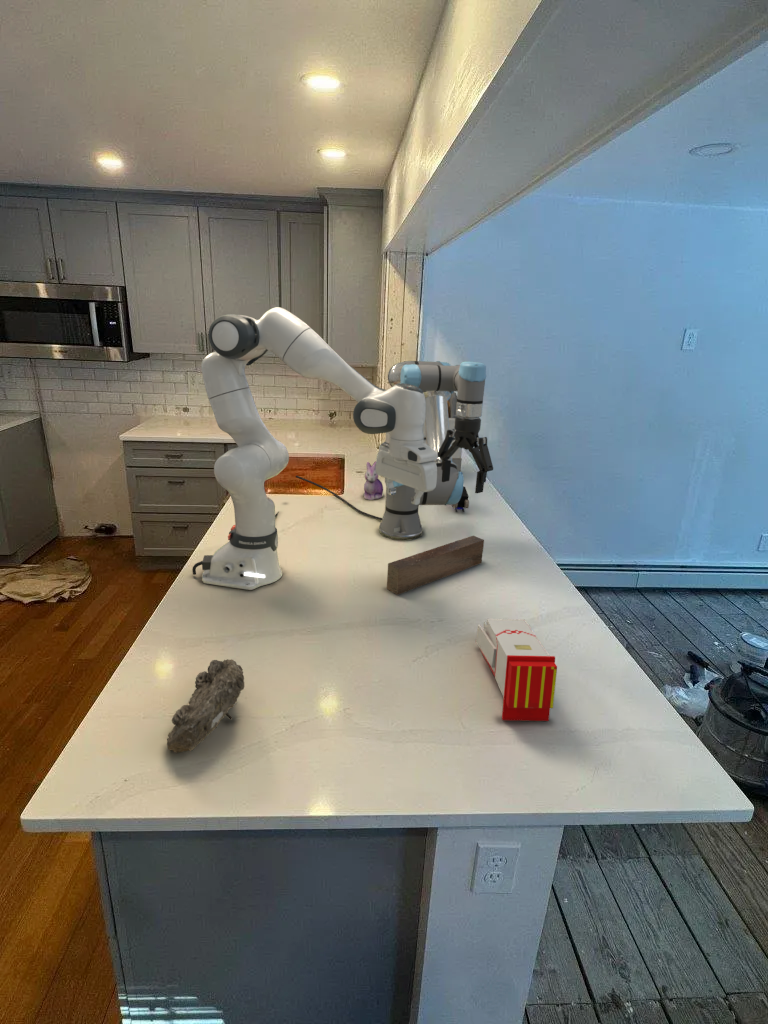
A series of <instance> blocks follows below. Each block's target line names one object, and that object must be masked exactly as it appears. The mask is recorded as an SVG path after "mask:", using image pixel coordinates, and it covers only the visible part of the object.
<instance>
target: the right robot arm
mask: <svg viewBox="0 0 768 1024" xmlns="http://www.w3.org/2000/svg"><path fill="white" fill-rule="evenodd" d="M486 379H487V365H486V364H485V363H484V362H478V361H462V362H461V363H460V364H454V365H451V363H449V362H447V361H440V360H437V361H428V360H427V361H426V360H423V361H422V360H405V361H401V362H397V363H395V364H393V365H392V366H391V367H390V368H389V370H388V372H387V383H388V384H389V385H390V388H391V387H393V386H394V385H396V384H398V383H404V384H410V385H414V386H417V387H418V388H420V389H421V390H422V391H423V392H424V395H425V405H426V410H425V430H426V444H427V445H428V446H429V447H431V448H432V449H433V450H434V451H436V452H437V454H438V457H437V460H434V462H435V463H436V465H437V483H436V487H435V489H434V490H433V491H429V492H424V493H423V495H422V496H421V498H420V503H419V504H418V505H414V504H412V503H411V501H412V500H411V497H414V496H415V494H416V493H415V489H414V488H412V487H409V486H406V485H404V484H401V483H398V482H395V481H393V485H394V488H396V494H395V495H389V494H388V493H387V491H388V488H387V486H386V485H385V504H384V505H385V507H384V508H385V509H384V513H383V515H382V517H380V516H376V515H373V514H370V513H368V512H365V511H363V510H360V509H359V508H357V507H356V506H354V505H353V504H351V503H350V502H349V501H347V500H345V499H344V498H343V497H342V496H339V494H337V493H335V492H334V491H332V490H330V489H328V488H327V487H324V486H323V485H320V484H319V483H316V482H314V481H311V480H309V479H306V478H305V477H301V476H299V475H295V478H297V479H299V480H302V481H304V482H307V483H309V484H311V485H314V486H316V487H318V488H320V489H322V490H324V491H326V492H328V493H330V494H331V495H333V496H334V497H336V498H338V499H339V500H340V501H342V502H343V503H344V504H346V505H347V506H349V507H350V508H352V509H353V510H354V511H356V512H358V513H359V514H362V515H364V516H365V517H366V516H367V517H368V518H369V517H370V518H373V519H375V520H379V521H381V522H379V525H378V533H379V534H380V535H381V536H382V537H385V538H387V539H389V540H395V541H410V540H415V539H418V538H420V537H421V536H422V535H423V525H422V524H421V518H420V515H419V507H420V506H449V505H451V506H452V505H453V504H456V503H458V502H459V500H460V498H461V495H462V491H463V486H465V485H464V483H465V479H464V477H465V476H464V474H463V472H462V471H461V472H460V471H458V472H457V465H456V464H454V463H453V462H452V455H453V454H454V453H455V452H456V451H457V449H458V448H462V449H464V450H468V453H471V456H472V457H473V460H474V462H475V464H476V466H477V468H478V471H477V472H476V480H475V488H474V489H475V491H474V493H475V494H482V493H483V492H484V487H485V483H486V482H487V474H488V472H492V471H494V465H493V461H492V458H491V454H490V450H489V447H488V437H487V436H482V437H481V436H479V432H480V431H481V425H482V419H481V417H482V416H483V406H484V396H485V386H486ZM453 392H456V395H457V405H456V415H457V417H456V418H455V426H454V428H455V429H451V430H449V418H448V405H447V400H449V398H450V397H451V394H452V393H453ZM455 430H456V431H455ZM454 437H455V439H456V440H455V441H454V442H453V443H452V441H453V439H454ZM451 443H452V446H451Z"/></svg>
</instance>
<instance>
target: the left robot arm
mask: <svg viewBox="0 0 768 1024" xmlns="http://www.w3.org/2000/svg"><path fill="white" fill-rule="evenodd" d="M208 341H209V344H210V346H211V348H212V349H213V350H214V351H213V352H210V353H209V354H207V355H206V356H205V357H204V358H203V359H202V361H201V364H200V369H201V374H202V375H201V376H202V380H203V386H204V388H205V392H206V395H207V399H208V402H209V404H210V407H211V411H212V412H213V416H214V418H215V421H216V424H217V427H218V428H219V429H220V430H221V431H222V432H223V433H226V434H228V435H229V436H230V437H231V438H232V440H233V441H234V442H235V444H236V446H237V447H235V448H231V449H229V450H228V451H226V452H225V453H222V455H220V456H219V457H218V458H217V459H216V461H215V462H214V465H213V475H214V477H215V480H216V481H217V483H218V485H219V486H220V487H222V488H223V489H224V490H226V491H227V492H228V494H229V497H230V498H231V501H232V504H233V510H234V524H233V525H232V527H231V528H230V530H229V532H228V535H227V542H226V543H225V544H223V545H222V546H221V547H219V548H218V549H217V550H216V551H215V552H214V553H213V554H212V555H211V554H209V555H208V554H206V555H203V558H202V560H201V561H198V562H196V563H195V564H194V565H193V566H192V567H191V569H192V571H191V572H192V576H197V568H198V567H200V566H201V568H202V569H201V570H202V571H203V572H202V574H201V581H202V582H203V583H204V584H208V585H212V586H213V585H214V586H221V587H227V588H233V589H241V590H247V591H248V590H249V591H252V590H255V589H257V588H260V587H262V586H266V585H270V584H273V583H275V582H277V581H279V580H280V579H281V578H282V576H283V571H282V567H281V565H280V560H279V554H278V547H279V535H278V529H277V527H276V518H275V515H276V504H275V502H274V500H273V499H272V498H270V497H269V496H267V493H266V490H265V489H266V488H265V482H266V481H268V480H270V479H272V478H275V477H277V476H278V475H279V474H280V473H281V472H283V470H284V469H286V467H288V464H289V461H290V455H289V451H288V449H287V446H286V445H285V444H284V443H283V442H281V440H279V439H277V438H276V437H275V436H274V435H273V434H272V433H271V432H270V430H269V429H268V427H267V426H266V424H265V423H264V421H263V419H262V418H261V416H260V413H259V410H258V408H257V405H256V403H255V400H254V397H253V394H252V391H251V388H250V385H249V383H248V380H247V376H246V366H251V365H253V364H254V363H255V362H256V361H257V360H259V359H261V358H262V357H264V355H266V354H267V353H268V351H269V352H271V353H272V354H274V355H275V356H276V357H277V358H279V359H280V360H281V361H282V362H283V364H285V365H286V366H287V367H288V368H290V369H291V370H292V371H294V373H297V374H298V375H300V376H302V377H303V378H307V379H312V380H313V379H314V380H321V381H325V382H328V383H331V384H333V385H335V386H336V387H338V388H340V389H341V390H342V391H343V392H344V393H345V394H347V395H348V396H349V397H350V398H352V399H353V400H354V401H355V402H357V403H356V405H355V406H354V408H353V412H352V419H353V422H354V424H355V426H356V428H357V429H358V430H359V431H360V432H362V433H364V434H368V435H378V434H379V435H380V434H386V433H387V432H388V433H389V434H390V438H389V443H387V442H386V441H383V442H382V443H381V444H380V445H379V446H378V451H377V455H376V459H375V461H376V473H377V475H378V477H382V478H384V483H385V487H386V486H387V488H388V491H387V493H388V494H389V495H395V494H396V488H394V485H393V481H395V482H398V483H401V484H404V485H406V486H409V487H412V488H414V489H415V493H416V494H415V496H414V497H411V500H412V501H411V503H412V504H414V505H418V504H419V503H420V498H421V496H422V495H423V493H424V492H429V491H433V490H434V489H435V487H436V483H437V465H436V463H435V462H434V460H437V457H438V454H437V452H436V451H434V450H433V449H432V448H431V447H429V446H428V445H427V444H426V443H425V442H424V434H423V426H424V423H425V410H426V405H425V395H424V392H423V391H422V390H421V389H420V388H418V387H417V386H414V385H410V384H404V383H398V384H396V385H394V386H393V387H391V386H390V388H387V389H385V388H382V387H379V386H377V385H375V384H374V383H372V381H370V380H369V379H367V378H366V377H365V376H364V375H362V374H361V373H360V372H359V371H358V370H356V369H355V368H354V367H353V366H351V365H350V364H349V363H348V362H347V361H345V360H344V359H343V357H341V356H340V355H339V354H338V353H337V352H336V351H335V350H334V349H333V348H332V347H331V346H330V345H329V344H328V343H327V342H326V341H325V340H324V339H323V338H322V337H321V336H320V335H319V334H318V332H316V331H315V330H314V329H313V328H312V327H311V326H310V325H308V324H307V323H306V322H305V321H303V320H302V319H301V318H299V317H298V316H297V315H295V314H293V312H291V311H289V310H288V309H285V308H283V307H280V306H275V307H272V308H270V309H268V310H267V311H266V312H264V313H263V314H262V316H261V317H260V318H259V319H258V318H255V317H252V316H249V315H245V314H234V313H227V314H222V315H221V316H219V317H217V318H215V319H214V320H213V321H212V323H211V324H210V326H209V328H208Z"/></svg>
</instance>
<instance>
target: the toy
mask: <svg viewBox="0 0 768 1024" xmlns="http://www.w3.org/2000/svg"><path fill="white" fill-rule="evenodd" d="M476 629H477V631H476V638H475V642H476V645H477V646H478V648H479V650H480V652H481V654H482V656H483V658H484V660H485V661H486V664H487V666H488V668H489V669H490V671H491V672H492V675H493V676H494V679H495V681H496V685H497V686H498V688H499V690H500V692H501V695H502V697H503V701H502V712H501V720H502V721H521V722H523V721H526V722H528V721H529V722H550V712H551V709H554V702H555V692H556V681H557V673H558V665H557V664H556V656H555V655H550V654H549V652H548V651H547V650H546V648H545V647H544V645H543V644H542V642H541V641H540V639H539V638H538V637H537V635H536V634H535V632H534V631H533V629H532V627H531V625H530V624H528V623H527V621H526V619H521V618H518V619H515V618H513V619H512V618H486V620H484V621H483V626H482V625H481V624H477V628H476Z"/></svg>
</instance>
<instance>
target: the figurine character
mask: <svg viewBox="0 0 768 1024" xmlns="http://www.w3.org/2000/svg"><path fill="white" fill-rule="evenodd" d="M469 498H470V496H469V494H468V491H467V488H466V486H465V485H463V491H462V495H461V498H460V500H459V502H458V503H456V504H453V505H451V507H452V508H453V509H454V511H455V512H456V513H458V510H461V511H462V513H465V509H469V506H470V500H469Z"/></svg>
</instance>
